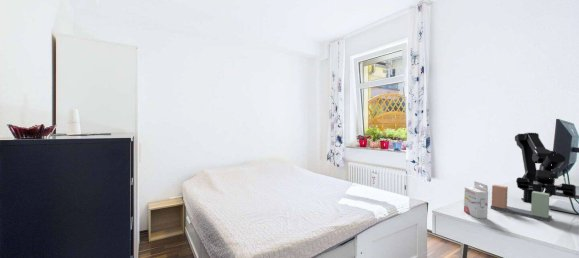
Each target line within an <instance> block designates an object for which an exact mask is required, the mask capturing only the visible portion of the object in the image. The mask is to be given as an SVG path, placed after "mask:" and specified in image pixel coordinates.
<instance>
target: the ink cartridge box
mask: <svg viewBox="0 0 579 258" xmlns="http://www.w3.org/2000/svg"><path fill="white" fill-rule="evenodd" d="M473 183H474V187H471V186H470V187H469V186H465V187H464V196H463V197H464V199H463V201H464V202H463V212H464V211H465V213H466V214H468V215H470V216H471V217H474V218H475V217H476V218H475V219H488V209H489V206H488V205H489V191H488V190H489V189H488V188H489V187H488V185H487V184H484V183H482V182H478V181H476V180H474V181H473Z"/></svg>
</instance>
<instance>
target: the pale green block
mask: <svg viewBox="0 0 579 258" xmlns="http://www.w3.org/2000/svg"><path fill="white" fill-rule="evenodd" d="M530 205H531V206H530V207H531V208H530V211H531V215H535V216H540V217H544V218H548V217H549V215H550V213H549V212H550V197H549V194H548V193H544V192H536V191H533V192H532V202H531V204H530Z"/></svg>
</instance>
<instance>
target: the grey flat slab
mask: <svg viewBox="0 0 579 258" xmlns="http://www.w3.org/2000/svg"><path fill="white" fill-rule="evenodd" d="M490 209H493V210H497V211H501V212H504V213H505V212H506V213H511V214H514V215H518V216H523V217H527V218H531V219H537V220H541V221H545V222H550V221H551V220H552V219H551V218H553V217H552V215H550V214H549V217H548V218H544V217H540V216H535V215H531V210H527V209H522V208H517V207H514V206H508V205H507V208H505V209H504V208H500V207H495V206H492V204H491V205H490Z"/></svg>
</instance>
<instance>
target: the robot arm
mask: <svg viewBox="0 0 579 258" xmlns="http://www.w3.org/2000/svg"><path fill="white" fill-rule="evenodd" d="M514 141H515V142H516V145H517V146H516V147H518V148H520V149H521V155H522V162H523V168H524V174H523V176H522V177H517V178H516V181H515V182H516V186H517V188H518V189H519V190H521V191H523V197H521V201H523V202H525V203H531V202H532V192H533V191H536V192H542V193H548V194H549V198H551V197H552V196H556V195H557V191H561V192H562V195H564V196H565V197H571V198H576V196H577V187H576V185H575V184H571V183H570V184H569V183H561V185H556V184H555V182H556V180H559V174H560V173H559V171H558V170H557V171H551V169H554V168H559V169H560V168H561V167H562V165H564V163H565V161H566V157H565V156H564V155H563V154H561V153H558V152H557V154H556V152H555V151H556V150H551V149H548V148H546V147H545V145H544V143H543V142H542V140H541V139H540V136H539V133H537V132H525V133H518V134H516V135H515V136H514ZM553 151H554V152H553ZM553 154H554V156H553ZM536 164H539V168H538V169H537V165H536ZM551 164H552V166H551ZM549 178H550V179H549ZM554 178H555V179H554Z"/></svg>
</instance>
